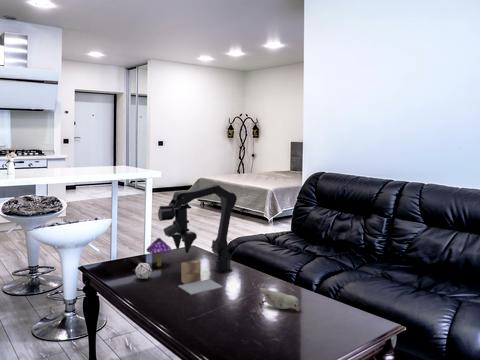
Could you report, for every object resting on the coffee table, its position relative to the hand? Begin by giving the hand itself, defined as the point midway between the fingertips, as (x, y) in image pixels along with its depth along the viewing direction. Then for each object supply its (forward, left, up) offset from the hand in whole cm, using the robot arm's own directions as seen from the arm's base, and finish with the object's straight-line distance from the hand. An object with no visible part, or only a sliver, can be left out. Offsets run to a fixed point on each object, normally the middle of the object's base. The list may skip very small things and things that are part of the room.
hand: (182, 250), depth 195 cm
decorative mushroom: (+2, -22, -13) cm, 25 cm away
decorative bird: (-14, +54, -13) cm, 57 cm away
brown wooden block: (-1, +7, -13) cm, 15 cm away
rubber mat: (-1, +16, -13) cm, 21 cm away
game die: (+16, -8, -13) cm, 22 cm away
